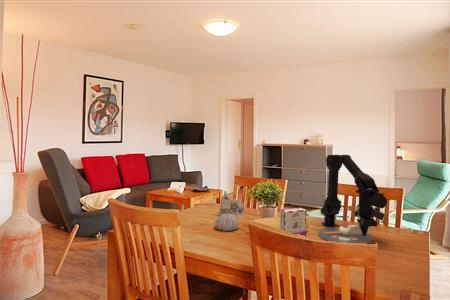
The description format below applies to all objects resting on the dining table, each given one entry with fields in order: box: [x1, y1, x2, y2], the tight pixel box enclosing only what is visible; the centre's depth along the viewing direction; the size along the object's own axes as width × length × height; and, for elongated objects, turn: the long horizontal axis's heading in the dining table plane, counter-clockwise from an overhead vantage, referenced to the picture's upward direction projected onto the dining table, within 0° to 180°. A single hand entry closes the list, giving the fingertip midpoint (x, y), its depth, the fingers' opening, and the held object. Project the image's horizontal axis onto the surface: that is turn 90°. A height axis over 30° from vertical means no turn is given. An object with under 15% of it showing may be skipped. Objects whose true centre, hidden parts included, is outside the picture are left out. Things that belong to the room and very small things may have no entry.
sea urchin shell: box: [214, 213, 240, 232], centre depth 168 cm, size 13×14×8 cm
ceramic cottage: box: [217, 190, 245, 218], centre depth 195 cm, size 16×16×15 cm
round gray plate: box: [318, 226, 373, 245], centre depth 154 cm, size 25×25×2 cm
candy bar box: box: [279, 207, 307, 237], centre depth 143 cm, size 11×5×16 cm, turn 105°
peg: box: [324, 224, 370, 235], centre depth 154 cm, size 22×5×4 cm, turn 95°
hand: (364, 235), depth 149 cm, fingers closed
